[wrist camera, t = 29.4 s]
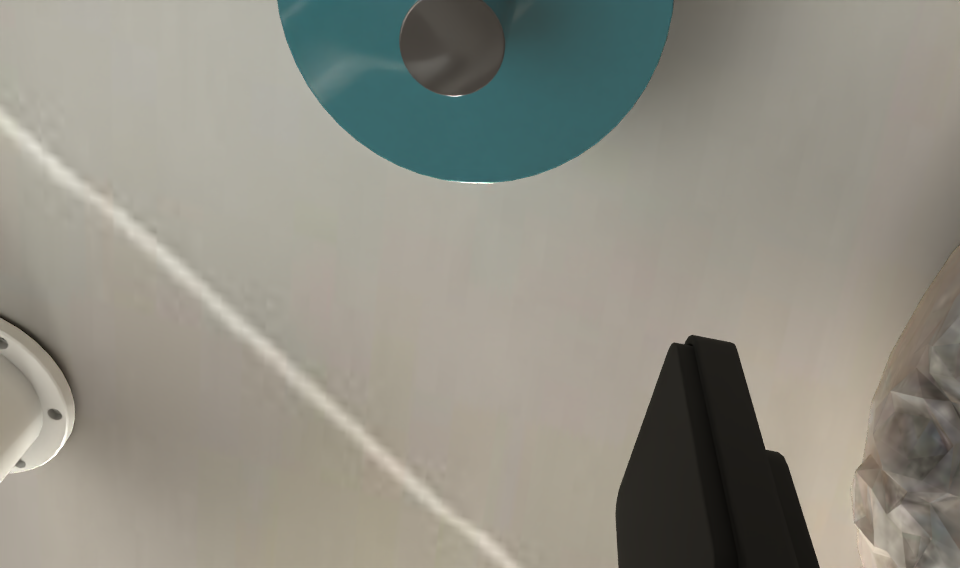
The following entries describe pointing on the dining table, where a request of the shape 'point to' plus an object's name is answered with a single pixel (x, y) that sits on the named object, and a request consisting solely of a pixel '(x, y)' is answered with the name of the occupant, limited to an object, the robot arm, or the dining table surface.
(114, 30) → the dining table surface
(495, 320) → the dining table surface
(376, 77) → the lid
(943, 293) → the clay pot
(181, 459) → the dining table surface
